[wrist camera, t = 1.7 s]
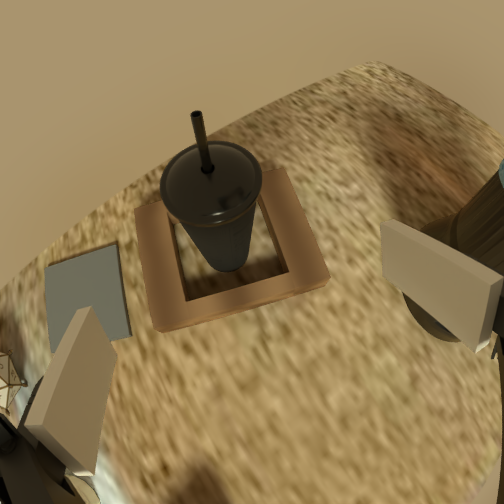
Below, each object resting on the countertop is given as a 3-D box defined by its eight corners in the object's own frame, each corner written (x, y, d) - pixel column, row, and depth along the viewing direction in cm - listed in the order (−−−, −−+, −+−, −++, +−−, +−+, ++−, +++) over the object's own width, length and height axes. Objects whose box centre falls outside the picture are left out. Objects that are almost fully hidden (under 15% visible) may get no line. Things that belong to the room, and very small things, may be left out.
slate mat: (118, 246, 35) (115, 244, 35) (132, 336, 31) (129, 335, 30) (47, 270, 34) (44, 268, 34) (54, 353, 30) (51, 352, 29)
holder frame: (282, 182, 38) (284, 167, 36) (324, 285, 33) (330, 277, 30) (142, 221, 37) (133, 208, 34) (162, 333, 31) (153, 328, 29)
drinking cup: (221, 210, 37) (194, 66, 19) (274, 244, 35) (289, 103, 17) (179, 258, 35) (108, 132, 16) (232, 298, 33) (201, 188, 14)
